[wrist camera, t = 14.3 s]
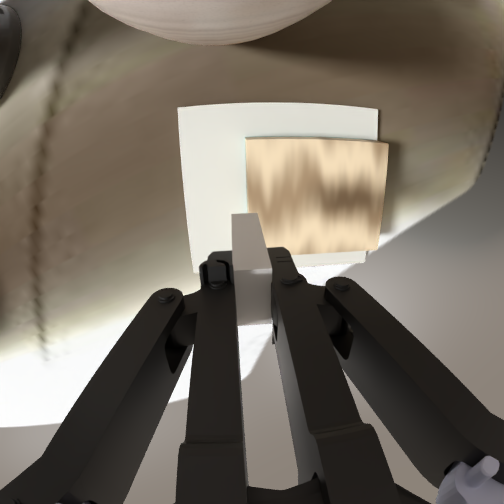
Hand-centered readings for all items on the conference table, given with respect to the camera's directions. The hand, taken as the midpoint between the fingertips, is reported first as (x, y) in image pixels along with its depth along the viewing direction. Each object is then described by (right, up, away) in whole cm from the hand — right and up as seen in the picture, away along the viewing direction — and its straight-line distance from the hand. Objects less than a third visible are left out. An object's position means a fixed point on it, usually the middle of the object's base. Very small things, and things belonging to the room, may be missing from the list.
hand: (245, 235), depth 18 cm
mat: (+3, +5, +9) cm, 11 cm away
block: (0, +4, +7) cm, 8 cm away
